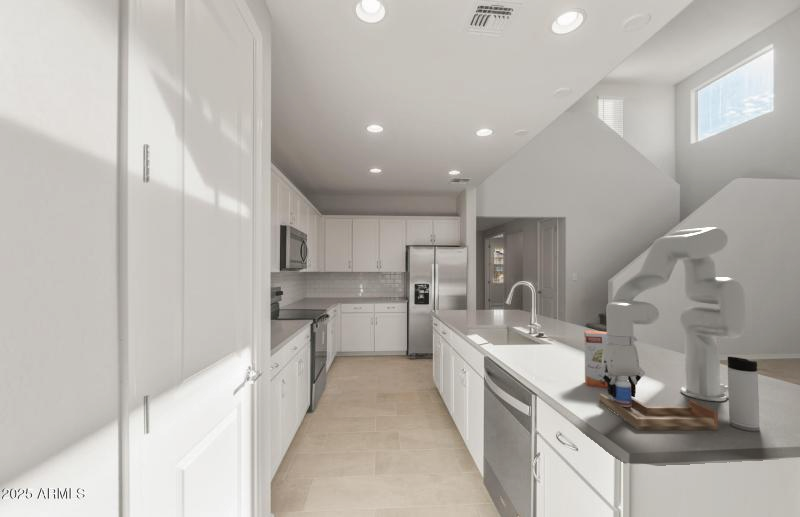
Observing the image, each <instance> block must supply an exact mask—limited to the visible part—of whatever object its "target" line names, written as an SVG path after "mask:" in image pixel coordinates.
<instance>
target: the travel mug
mask: <svg viewBox="0 0 800 517" xmlns="http://www.w3.org/2000/svg"><path fill="white" fill-rule="evenodd" d="M758 377H759V374H758V362H757V361H755V360H748V359H747V358H742V357H735V356H727V384H728V385H727V386H728V391H727V393H728V411H729V412H728V418H729V424H730V425H731V426H732V427H734V428H737V429H739V430H742V431H746V432H759V431H760V404H759V402H760V401H759V399H760V398H759V378H758Z"/></svg>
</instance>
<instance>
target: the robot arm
mask: <svg viewBox="0 0 800 517" xmlns="http://www.w3.org/2000/svg"><path fill="white" fill-rule="evenodd" d="M728 240H729V239H728V234H727V232H725V231H724V229H722V228H720V227H716V226H715V227H713V226H712V227H701V228H691V229H690V228H689V229H688V228H687V229H680V230H676V231H673V232H671V233H670V234H669V235H667V236H661V237H659V238H657V239H655V240H654V241H653V243H652V245H651V246H650V249H649V251H648V254H647V255H646V258H645V260H644V262H643V264H642V266H641V268H640V270H639V272H638V273H636V274H635V275H633V276H632V277H630V278H629V279H628V280H627V281H625V282H624V283H622V285H620V286H619V288H618V289H617V291H616V292H615V294H614V297H613V298H612V301H611V302H609V303H607V304H606V308H605V312H606V313H605V314H606V318H605V320H606V332H607V343H604V347H603V353H602V367H601V368H600V369H599V370H598V371H597V373H598V374H599V375H600V376H601V377H602V378H603V379H604V380H605V381H606V382H607V386H608V388H607V393H608V395H609V396H611V398H612V397H616V385H614V381H615V378H616V376H628V381H629V382H630V383H631V397H632V398H635V397H636V393H637V392H636V389H637V388H636V385H638V382H639V381H640V380H641V379H642V378H643V377H644V376H645V375H646V372H645V370H643V369H642V367H641V366H640V360H639V354H638V350H637V346H636V344H635V342H637V341H638V337H637V336H635V335H634V333H635V332H634V325H643V326H648V325H652V324H654V323H655V322H656V321H657V320H658V319H659V316H660V315H659V314H660V313H659V309H658V308H657V307H656V306H655V304H652V303H650V302H646V301H638V300H634V299H635V298H636V297H637V296H639V295H640V294H641V293H643V292H646V291H648V290H651V289H654V288H657V287H660V286H662V285H665V284H666V283H668V281H669V280H670V278H671V275H672V273H673V271H674V269H675V266H676V264H677V262H678V261H682V262H683V266H684V289H685V290H684V291H685V297H686V299H687V300H688V301H690V302H691V303H696V304H697V303H698V304H706V305H716V306H717V305H719V308H715V307H714V308H713V307H707V306H706V307H705V306H690V307H686V308H685V309H684V310H682V312H681V313H680V316H679V317H680V325H681V328H682V332H683V340H684V364H685V365H684V369H685V370H684V371H685V386H681V387H680V392H681V393H682V395H685V396H686V397H687V396H688V397H691V398H692V399H693V398H694V399H697V400H701V401H709V402H724V401H727V399H728V396H727V394H725V393H726V392H728V385H725V384H723V383H721V356H720V347H719V344H718V341H717V340H716V339H715V337H720V338H727V339H737V338H741V336H743V334H744V332H745V327H746V304H745V303H746V301H745V300H746V298H745V290H744V287H743V285H742V284H741V282H740V281H739V280H737V279H735V278H731V277H720V276H719V277H717V275H716V273H717V272H716V263H715V260H714V259H713V258H712V255H714V254H716V253H719V252H721V251H723V250H724V249H725V247H726V246H727V243H728V242H729V241H728ZM604 372H607V373H608V374H607V376H606V375H605V374H604Z"/></svg>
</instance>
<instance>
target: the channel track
mask: <svg viewBox="0 0 800 517" xmlns="http://www.w3.org/2000/svg"><path fill="white" fill-rule="evenodd" d="M631 398H632V405H631V406H630V407H622V406H620V405H619V404H617V403H615V402H614V401H612V399H611V398H609V397H608V396H606V395H605V394H604V393H599V404H600V405H602V404H603V405H604V406H603V405H602V406H603V407H605V406H606V407H607V408H606V407H605V408H606V409H608V408H609V409H610V410H609V409H608V410H609V411H611V410H612V411H613V412H615V413H616V414H618V415H619V416H620V417H622V418H623V419H625V420H626V421H627V422H629V423H630V424H631V425H630V424H629V423H628V424H629V425H630V426H632V427H633V426H634V427H633V428H635V429H636V430H637V429H638V430H639V431H646V430H647V431H649V430H650V431H651V430H652V431H666V430H667V431H699V430H700V431H718V430H719V421H718V420H719V419H718V411H715V410H713V409H712V408H710V407H708V406H706V405H703V404H701V403H699V402H697V401H694V400H692V399H689V400H688V406H647V405H646V404H644V403H642V402H640V401H639V400H637V399H635V397H632V396H631ZM612 411H611V412H612ZM613 412H612V413H613ZM615 413H614V414H615ZM616 414H615V415H616ZM618 415H617V416H618ZM619 416H618V417H619ZM620 417H619V418H620ZM622 418H621V419H622ZM623 419H622V420H623ZM625 420H624V421H625ZM626 421H625V422H626ZM627 422H626V423H627Z"/></svg>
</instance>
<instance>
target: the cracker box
mask: <svg viewBox="0 0 800 517" xmlns="http://www.w3.org/2000/svg"><path fill="white" fill-rule="evenodd" d="M583 335H584V382H585V384H586V386H588V387H597V388H604V389H608V386H607V382H606V381H605V380H604V379H603V378H602V377H601V376H600V375H599V374H598V373H597V371H598V370H599V369H600V368H601V367H602V353H603V347H604V343H607V331H600V330H599V331H597V330H584V333H583ZM604 374H605V375H606V376H607V374H608V373H607V372H604Z"/></svg>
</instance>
